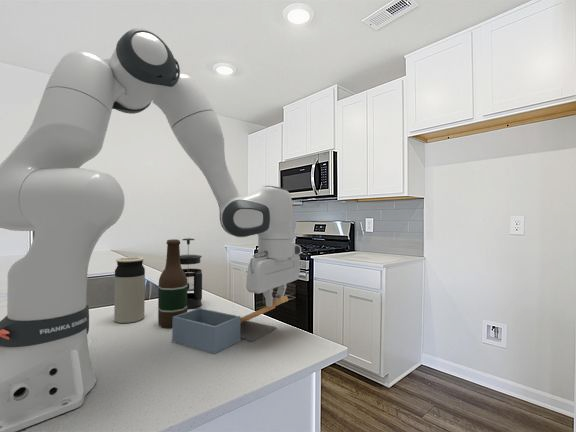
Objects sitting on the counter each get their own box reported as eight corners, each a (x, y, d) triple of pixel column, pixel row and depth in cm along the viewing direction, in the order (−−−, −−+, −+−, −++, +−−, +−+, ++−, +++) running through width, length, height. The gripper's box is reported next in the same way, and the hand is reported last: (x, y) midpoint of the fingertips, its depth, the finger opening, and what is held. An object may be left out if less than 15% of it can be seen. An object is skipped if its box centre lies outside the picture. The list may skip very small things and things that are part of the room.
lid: (275, 307, 76) (272, 300, 77) (221, 331, 85) (219, 325, 86) (295, 299, 85) (292, 292, 85) (244, 321, 94) (242, 315, 94)
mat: (252, 341, 79) (252, 340, 79) (210, 331, 86) (210, 329, 86) (276, 328, 88) (276, 327, 88) (236, 319, 95) (236, 318, 95)
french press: (166, 306, 109) (166, 238, 109) (189, 300, 117) (190, 237, 116) (187, 312, 102) (188, 240, 102) (211, 305, 110) (211, 238, 110)
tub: (214, 354, 72) (215, 327, 72) (172, 341, 79) (172, 316, 79) (240, 340, 80) (240, 316, 80) (199, 330, 87) (199, 307, 87)
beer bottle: (152, 325, 90) (152, 240, 90) (173, 317, 97) (174, 238, 96) (171, 330, 86) (172, 241, 86) (192, 322, 93) (193, 239, 93)
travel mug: (144, 321, 93) (145, 259, 93) (113, 325, 90) (114, 261, 90) (144, 313, 100) (144, 256, 100) (115, 317, 97) (115, 257, 97)
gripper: (262, 254, 72) (261, 316, 72) (304, 246, 89) (303, 296, 89) (240, 253, 75) (239, 312, 75) (284, 245, 93) (284, 293, 93)
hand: (274, 303), depth 82 cm, fingers closed on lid, 3 cm apart
